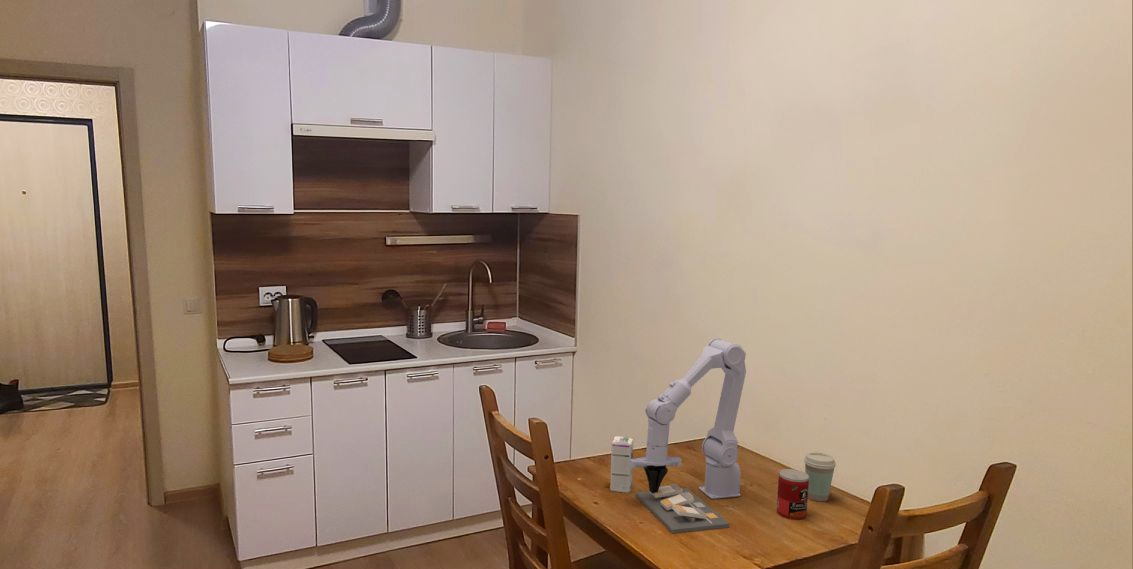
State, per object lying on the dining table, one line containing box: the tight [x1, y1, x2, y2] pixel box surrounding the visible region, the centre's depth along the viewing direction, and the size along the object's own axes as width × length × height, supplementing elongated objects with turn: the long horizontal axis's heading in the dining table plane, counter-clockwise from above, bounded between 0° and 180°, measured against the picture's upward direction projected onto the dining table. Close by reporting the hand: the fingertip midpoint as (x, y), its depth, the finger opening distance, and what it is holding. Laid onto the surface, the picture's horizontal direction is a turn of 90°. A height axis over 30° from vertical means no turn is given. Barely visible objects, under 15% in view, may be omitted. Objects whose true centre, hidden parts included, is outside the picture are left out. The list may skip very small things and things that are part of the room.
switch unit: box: [634, 487, 731, 534], centre depth 194 cm, size 16×24×2 cm, turn 17°
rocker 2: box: [660, 492, 694, 510], centre depth 193 cm, size 8×4×1 cm, turn 107°
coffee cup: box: [803, 452, 837, 502], centre depth 206 cm, size 8×9×12 cm
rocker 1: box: [650, 483, 683, 498], centre depth 200 cm, size 8×4×1 cm, turn 107°
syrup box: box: [609, 436, 634, 494], centre depth 207 cm, size 6×6×14 cm
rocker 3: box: [672, 505, 707, 519], centre depth 187 cm, size 8×4×1 cm, turn 107°
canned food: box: [776, 468, 809, 520], centre depth 194 cm, size 8×8×11 cm
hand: (653, 491), depth 199 cm, fingers closed, pressing on rocker 1
